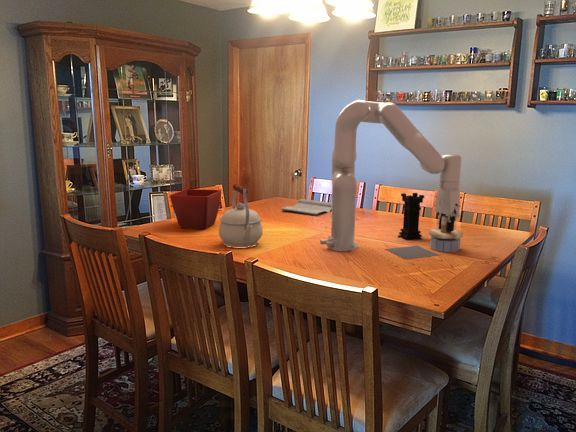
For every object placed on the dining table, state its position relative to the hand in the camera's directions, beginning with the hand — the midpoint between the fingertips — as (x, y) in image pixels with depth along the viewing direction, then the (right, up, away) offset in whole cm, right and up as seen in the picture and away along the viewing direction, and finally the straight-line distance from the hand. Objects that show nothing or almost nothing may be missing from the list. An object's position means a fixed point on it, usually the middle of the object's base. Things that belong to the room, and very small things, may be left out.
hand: (446, 229), depth 200 cm
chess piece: (-10, -5, +19) cm, 22 cm away
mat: (-52, +8, +81) cm, 97 cm away
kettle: (-83, -7, +7) cm, 84 cm away
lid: (0, -2, 0) cm, 2 cm away
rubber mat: (-15, -9, -4) cm, 18 cm away
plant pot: (-108, 0, +41) cm, 116 cm away
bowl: (0, -8, +2) cm, 8 cm away
